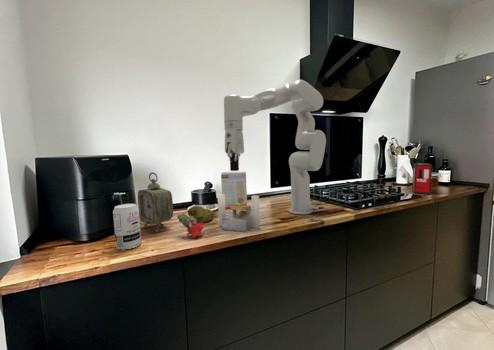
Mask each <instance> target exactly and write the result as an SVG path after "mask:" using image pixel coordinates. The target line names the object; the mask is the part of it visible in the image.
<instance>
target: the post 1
mask: <svg viewBox="0 0 494 350" xmlns="http://www.w3.org/2000/svg"><path fill="white" fill-rule="evenodd" d="M217 211H218V214H217V216H218V226H219V227H222V218H223V217H224V216H226V215H227V214H226V208H225V194H222V193H219V194H217Z"/></svg>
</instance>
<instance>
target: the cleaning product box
mask: <svg viewBox="0 0 494 350" xmlns="http://www.w3.org/2000/svg"><path fill="white" fill-rule="evenodd" d="M432 175H433V164H431V163H429V162H427V163H425V162H424V163H423V162H422V163H421V162H416V163H413V164H412V182H411V184H412V187H411V191H412V192H413V194H414V195H422V194H424V196H425V195H427V196H431V195H432V180H433V178H432Z"/></svg>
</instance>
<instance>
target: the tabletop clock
mask: <svg viewBox="0 0 494 350" xmlns="http://www.w3.org/2000/svg"><path fill="white" fill-rule="evenodd" d="M152 175H154V176H155V177H156V179H155V178H152V179H151V176H152ZM148 179H149V181H150V182H151V183H149V184H148V185H147V189H140V190H138V191H137V193H138V194H137V207H138V208H139V217H140V221H142V222H143V223H145V224H144V225H143V227H144V229H146V228H148V227H149V225H150V226H151V225H152V226H153V225H157V226H156V229H155V232H156V234H157V233H160V231H161V230H160V228H163V227H164V224H163V222H167V221H170V220H171V219H172V218H173V217H174V203H173V195H172V191H170V190H168V189H166V188H163V187H161V186H160V184H159V183H157V181H158V179H159V178H158V175H157V173H155V172H150V173H149V174H148Z"/></svg>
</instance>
